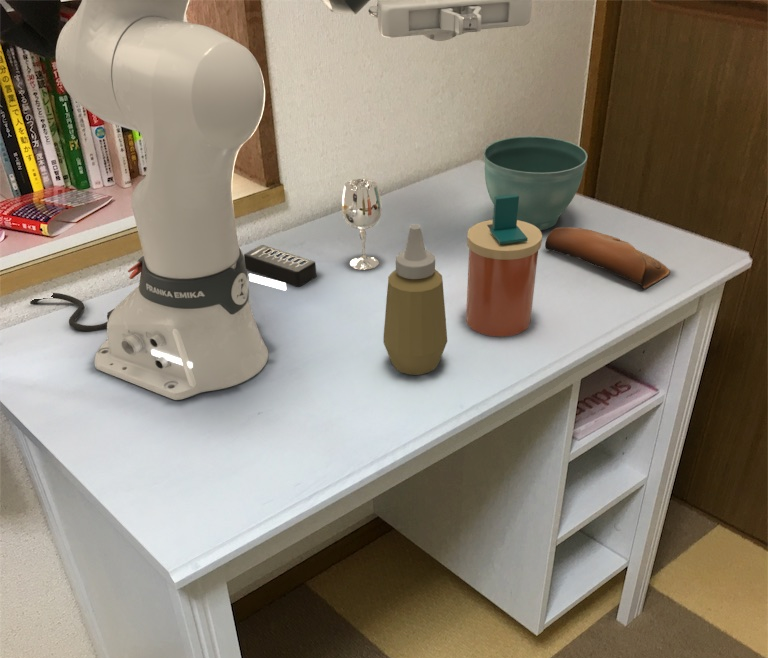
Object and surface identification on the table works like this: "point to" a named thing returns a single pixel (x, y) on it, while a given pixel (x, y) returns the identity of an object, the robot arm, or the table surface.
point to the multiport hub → (280, 265)
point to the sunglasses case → (607, 254)
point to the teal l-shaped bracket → (506, 220)
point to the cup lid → (490, 248)
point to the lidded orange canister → (500, 294)
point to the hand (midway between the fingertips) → (470, 25)
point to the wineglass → (362, 214)
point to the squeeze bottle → (415, 310)
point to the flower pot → (535, 175)
